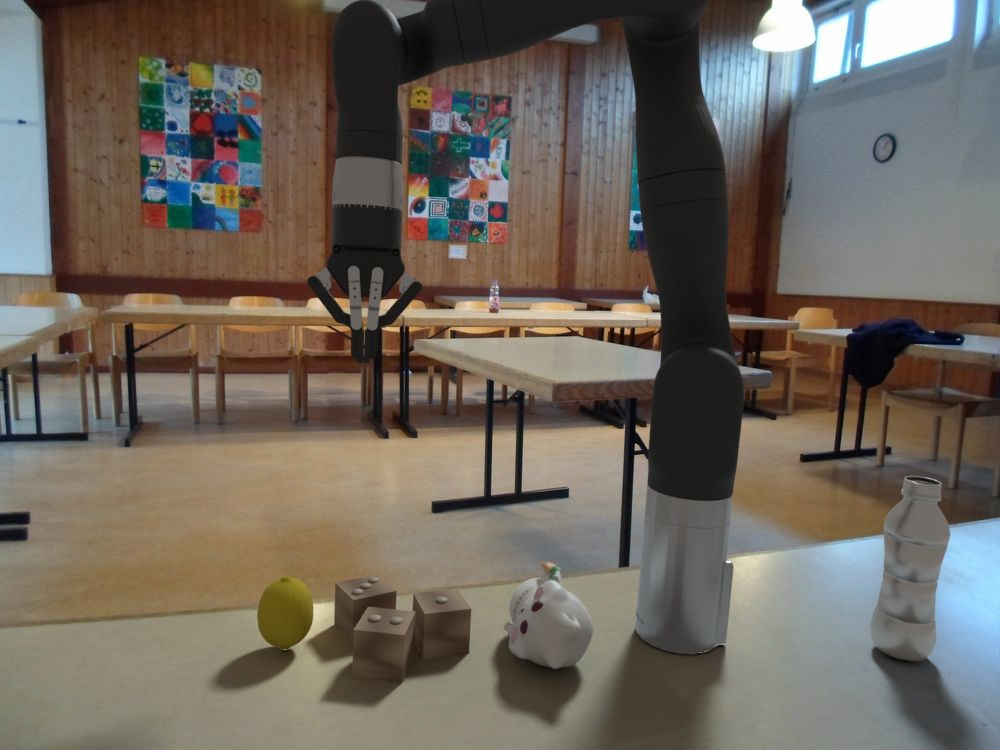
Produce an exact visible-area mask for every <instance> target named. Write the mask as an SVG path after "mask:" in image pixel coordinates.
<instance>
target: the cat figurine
mask: <svg viewBox="0 0 1000 750" xmlns="http://www.w3.org/2000/svg"><path fill="white" fill-rule="evenodd" d="M540 567H541V569H542V570H543V572H542V575H541V577H542V578H541V577H533V578H530V579H527V580H524V581H523V582H522V583H520V584H519V585H518V587H516V588H515V590H514V592H513V593H512V594H511V595H512V596H511V599H510V602H509V614H510V619H511V622H512V623H511V622H510V621H509V620H508V621H507V622H505V624H504V626H503V629H504V631H506V633H507V634H508V637H509V641H508V648H509V650H510V652H511V653H512V654H513V655H514V656H515V657H517V658H519V659H523V660H530V661H532V662H533V663H535V664H537V665H539V666H542V667H548V668H551V669H553V670H554V669H555V670H557V669H560V668H567V667H572V666H573V665H575V664H577V663H578V662H579V661H580V660H581V659H582V658H583V657H584V656H585V653H586V651H587V650H588V648H589V645H590V643H591V640H592V637H593V634H594V623H593V620H592V618H591V615H590V614H589V613H590V612H588V610H587V608H586V607H585V605H584V604H583V603H582V601H581V600H580V599H579V598H578V597H577V596H576V595H575V594H574V593H572V592H570V591H568V590H566V589H565V588H564V587H563V586H562V575H561V573H563V569H562V568H561V567H559V566H557V565H556V564H555V563H553V562H550V561H541V564H540Z"/></svg>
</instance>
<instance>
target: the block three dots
mask: <svg viewBox="0 0 1000 750" xmlns="http://www.w3.org/2000/svg"><path fill="white" fill-rule="evenodd" d="M334 583H335V585H334V614H333V615H334V617H333V619H334V621H333V625H334V627H336V628H337V630H339V631H340V633H341V634H342V635H343V636H344V637H345V638H346V640H348V641H349V643H350V644H351V645H353V633H354V628H355V627H356V625H357V624H358V622H359V620H360V619H361V617H362V616H363V614H364V612H365V611H366V609H367V608H368V607H375V608H386V609H396V610H397V593H398V592H397V591H398V590H396V589H395V588H394V587H393V586H391V584H389V583H388V582H387V581H385V579H383V578H382V577H381V576H380V575H378V574H377V573H376V574H373V575H372V574H370V575H367V576H362V577H361V576H360V577H356V578H352V579H346V580H342V581H338V582H337V581H336V582H334Z"/></svg>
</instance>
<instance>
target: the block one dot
mask: <svg viewBox="0 0 1000 750" xmlns="http://www.w3.org/2000/svg"><path fill="white" fill-rule="evenodd" d="M412 611H416V614H415V638H414V645H415V646H416V648H417V651H418V653H419V654H420V657H421V658H422V660H427V659H435V658H441V657H449V656H457V655H464V654H470V641H471V625H472V624H471V622H472V608H471V606H470V605H469V603H468V601H467V600H466V599H465V597H464V596H463V594H462V593H461V592H460V590H459V589H458V588H453V589H444V590H443V589H442V590H432V591H424V592H417V593H416V592H414V593H413V596H412Z"/></svg>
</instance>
